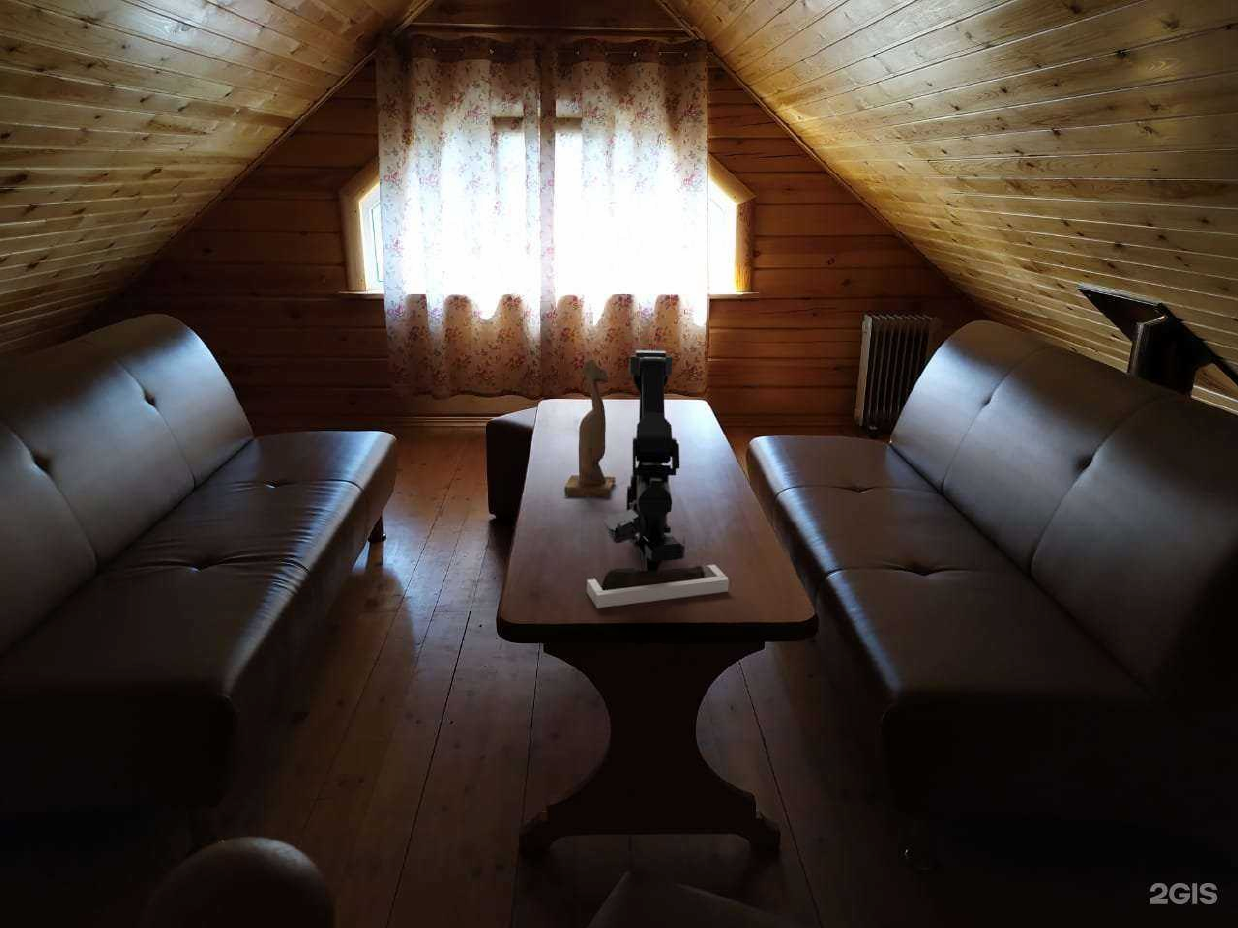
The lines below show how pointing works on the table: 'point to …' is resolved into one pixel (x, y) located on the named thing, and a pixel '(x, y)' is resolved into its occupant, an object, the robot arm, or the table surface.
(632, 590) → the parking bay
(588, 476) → the bird sculpture
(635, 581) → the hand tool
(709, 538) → the table surface
